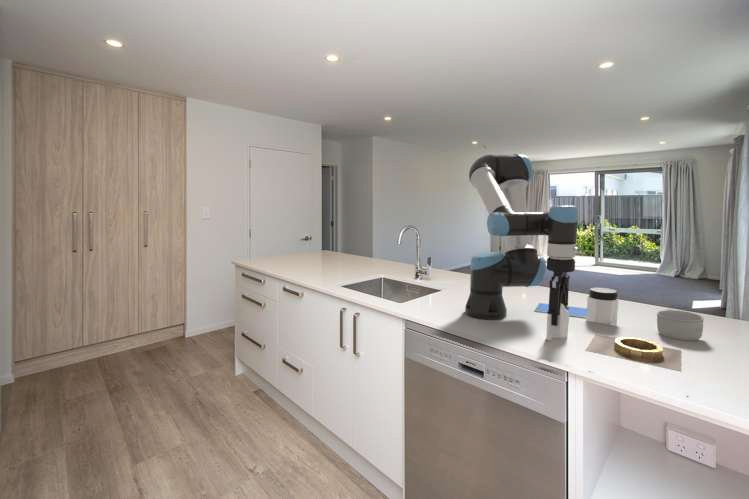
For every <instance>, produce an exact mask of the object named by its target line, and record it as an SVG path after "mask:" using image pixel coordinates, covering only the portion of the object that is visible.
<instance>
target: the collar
mask: <svg viewBox="0 0 749 499" xmlns="http://www.w3.org/2000/svg"><path fill="white" fill-rule="evenodd" d="M615 338H616V339H615V342H614V349H616V350H617V351H618V352H620V353H622V354H625V355H627V356H631V357H635V358H640V359H651V360H656V359H660V358H662V353H663V347H664V346H661V344H659V343H657V342H654V341H650V340H648V339H644V338H638V337H630V336H628V337H627V336H620V337H615ZM626 345H627V346H626ZM628 346H637V347H642V348H646V349H649V350H640V349H635V348H631V347H628Z"/></svg>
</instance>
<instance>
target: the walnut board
mask: <svg viewBox="0 0 749 499" xmlns="http://www.w3.org/2000/svg"><path fill="white" fill-rule="evenodd" d="M616 338H617V337H613V336H607V335H604V334H603V335H602V334H597V333H596V334H595V335H594V336H593V338H592V339H591V341H590V343H589V344H588V346H587V347H586V349H585V352H591V353H594V354H595V353H596V354H599V355H603V356H609V357H614V358H616V359H621V360H626V361H627V360H628V361H632V362H636V363H641V364H645V365H648V366H653V367H659V368H663V369H666V370H667V369H668V370H673V371H677V372H682V350H680V349H675V348H671V347H665V346H662V347H663V353H662V358H660V359H656V360H651V359H640V358H635V357H631V356H627V355H625V354H622V353H620V352H618V351H617V350H616V349H614V342H615V339H616ZM626 346H627V345H626ZM628 347H631V348H635V349H640V350H649V349H646V348H642V347H637V346H628Z"/></svg>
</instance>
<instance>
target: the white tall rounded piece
mask: <svg viewBox="0 0 749 499" xmlns="http://www.w3.org/2000/svg"><path fill="white" fill-rule="evenodd" d="M560 315H561V322H560V336H559V337H558V336H554V335H549V331H550V314H547V317H546V319H547V320H546V334H545V336H546V338H545V339H546V340H547V341H550V342H551V341H552V340H554V338H555V339H565V338H568V335H569V334H568V333H569V325H570V324H569V322H570V316H569V313H568V311H567V309H566V308H565V306H564V305H563V304H561V308H560Z"/></svg>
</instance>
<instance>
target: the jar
mask: <svg viewBox="0 0 749 499" xmlns="http://www.w3.org/2000/svg"><path fill="white" fill-rule="evenodd" d="M586 302H587V304H586V308H587V316H586V318H585V319H586V320H585V321H586V322H591V323H597V324H602V325H607V326H613V327H614V326H615V327H616V326H617V325H618V312H619V311H618V309H619V298H618V290H615V289H612V288H608V287H607V288H606V287H591V288H589V292H588V296H587V300H586Z"/></svg>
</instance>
